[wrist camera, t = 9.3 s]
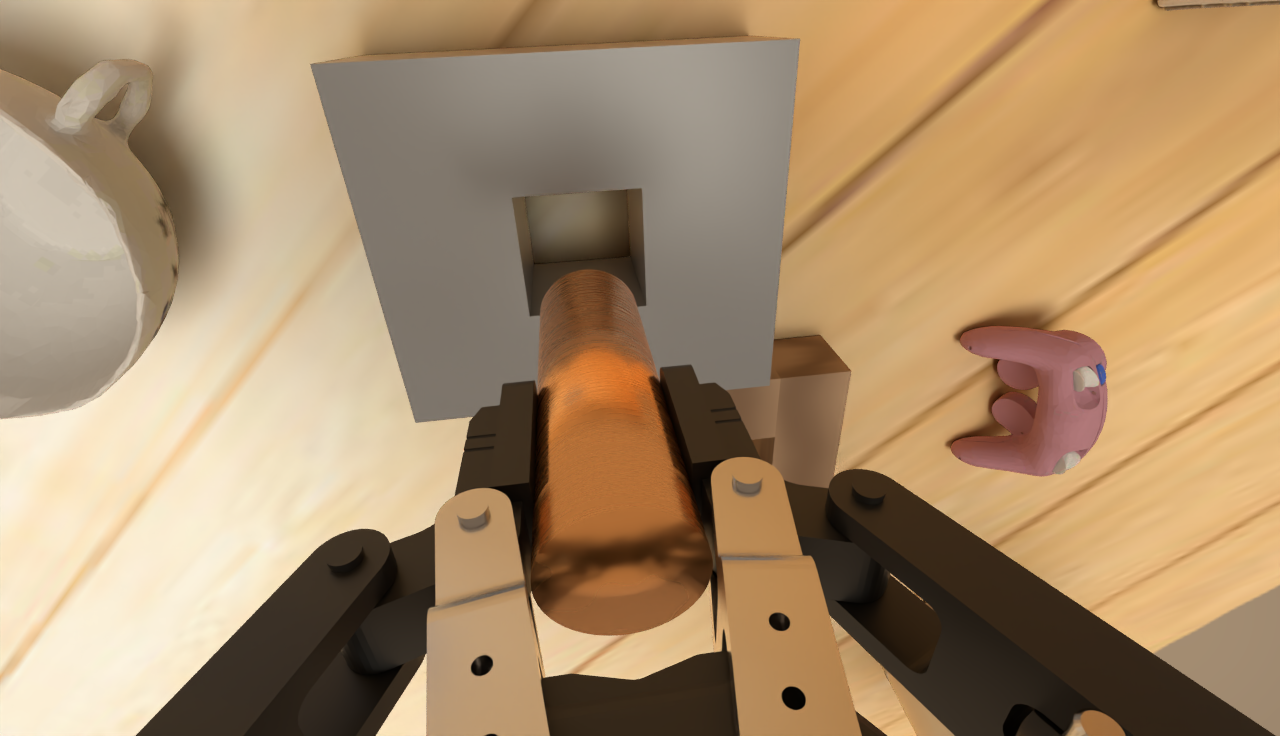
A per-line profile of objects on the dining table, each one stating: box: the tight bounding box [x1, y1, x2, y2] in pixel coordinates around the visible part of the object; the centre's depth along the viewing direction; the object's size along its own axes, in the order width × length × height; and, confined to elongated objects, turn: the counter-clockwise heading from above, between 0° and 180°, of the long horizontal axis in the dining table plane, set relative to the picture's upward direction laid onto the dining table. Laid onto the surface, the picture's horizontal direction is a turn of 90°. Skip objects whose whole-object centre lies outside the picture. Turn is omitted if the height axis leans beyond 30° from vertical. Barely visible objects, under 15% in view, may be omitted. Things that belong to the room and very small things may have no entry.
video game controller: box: [951, 326, 1107, 476], centre depth 34 cm, size 10×5×7 cm, turn 12°
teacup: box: [0, 59, 179, 419], centre depth 21 cm, size 15×12×8 cm
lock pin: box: [530, 269, 713, 635], centre depth 14 cm, size 3×3×10 cm
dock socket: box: [310, 36, 800, 423], centre depth 25 cm, size 16×14×6 cm
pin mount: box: [726, 335, 851, 488], centre depth 34 cm, size 12×12×4 cm
